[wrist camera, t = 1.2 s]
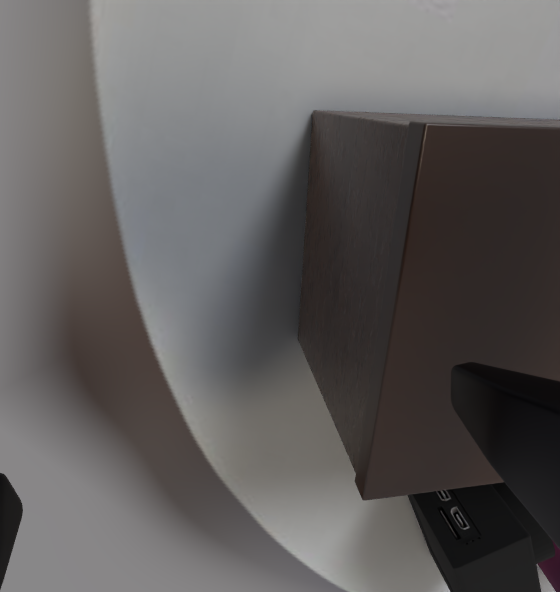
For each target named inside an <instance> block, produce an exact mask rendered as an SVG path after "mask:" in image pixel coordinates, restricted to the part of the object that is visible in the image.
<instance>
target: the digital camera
mask: <svg viewBox="0 0 560 592" xmlns="http://www.w3.org/2000/svg"><path fill="white" fill-rule="evenodd" d="M408 496H409V499H410V501H411V504H412V507H413V509H414V512H415V514H416V517H417V519H418V522H419V525H420V527H421V530H422V532H423V535H424V537H425V540H426V543H427V545H428V548H429V550H430V553H431V555H432V557H433V559H434V561H435V563H436V565H437V567H438V569H439V570H440V572H441V574H442V576H443V578H444V580H445V582H446V584H447V586H448V588H449V590H450V592H541V588H540V583H539V578H538V572H537V567H536V564H537V563H540V562H542V561H545V560H547V559H549V558H552V557H554V556H555V548H554V545H553V542H552V539H551V538H550V537H549V536H548V534H547V533H546V532H545V531H544V530H543V528H542V527H541V526H540V525H539V524H538V522H537V521H536V520H535V519H534V517H533V516H532V515H531V514H530V513H529V511H528V510H527V509H526V508H525V507H524V505H523V504H522V503H521V502H520V500H519V499H518V498H517V497H516V496H515V494H514V493H513V492H512V491H511V490H510V488H509V487H508V486H507V485H506V483H505V482H502V483H494V484H486V485H479V486H471V487H463V488H456V489H448V490H441V491H433V492H425V493H418V494H410V495H408Z"/></svg>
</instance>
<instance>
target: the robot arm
mask: <svg viewBox="0 0 560 592" xmlns="http://www.w3.org/2000/svg"><path fill="white" fill-rule="evenodd" d="M451 402H452V405H453V408H454V410H455V412H456V413H457V415H458V416H459V418H460V419H461V421H462V422H463V424H464V425H465V427H466V428H467V430H468V432H469V433H470V435H471V436H472V438H473V439H474V441H475V442H476V444H477V445H478V447H479V448H480V450H481V452H482V453H483V455H484V456H485V458H486V459H487V460H488V462H489V463H490V465H491V466H492V467H493V469H494V470H495V471H496V472H497V474H498V475H499V476H500V477H501V479H502V480H503V481H504V482H505V483H506V485H507V486H508V487H509V488H510V490H511V491H512V492H513V493H514V494H515V496H516V497H517V498H518V499H519V500H520V502H521V503H522V504H523V505H524V507H525V508H526V509H527V510H528V511H529V513H530V514H531V515H532V516H533V517H534V519H535V520H536V521H537V522H538V524H539V525H540V526H541V527H542V528H543V530H544V531H545V532H546V533H547V534H548V536H549V537H550V538H551V539H552V540H553V542H554V543H555V544H556V545H557V547H558V548H559V549H560V381H556V380H552V379H547V378H543V377H538V376H534V375H529V374H525V373H520V372H516V371H511V370H506V369H502V368H497V367H493V366H488V365H484V364H479V363H475V362H468V363H463V364H459V365H455V366H454V367H453V368H452V371H451ZM22 512H23V509H22V503H21V500H20V498H19V497H18V495H17V493H16V492H15V490H14V488H13V487H12V485H11V483H10V482H9V480H8V479H7V477H6V476H5V475H4V474H2V473H0V589H1V586H2V583H3V579H4V576H5V573H6V570H7V566H8V563H9V559H10V556H11V552H12V549H13V545H14V542H15V539H16V535H17V532H18V528H19V525H20V521H21V518H22Z"/></svg>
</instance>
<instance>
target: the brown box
mask: <svg viewBox="0 0 560 592" xmlns="http://www.w3.org/2000/svg"><path fill="white" fill-rule="evenodd" d="M298 340H299V343H300V345H301V347H302V350H303V352H304V354H305V357H306V359H307V361H308V364H309V366H310V368H311V371H312V373H313V375H314V377H315V380H316V382H317V384H318V387H319V389H320V391H321V394H322V396H323V398H324V401H325V403H326V405H327V408H328V410H329V412H330V415H331V417H332V419H333V421H334V424H335V426H336V428H337V431H338V433H339V435H340V438H341V440H342V442H343V445H344V447H345V449H346V452H347V454H348V456H349V459H350V461H351V463H352V465H353V468H354V470H355V472H356V477H355V483H356V485H357V488H358V490H359V493H360V495H361V497H362V500H372V499H380V498H387V497H395V496H402V495H410V494H418V493H425V492H433V491H441V490H448V489H456V488H463V487H471V486H479V485H486V484H494V483H502V482H504V481H503V480H502V479H501V477H500V476H499V475H498V474H497V472H496V471H495V470H494V469H493V467H492V466H491V465H490V463H489V462H488V460H487V459H486V458H485V456H484V455H483V453H482V452H481V450H480V448H479V447H478V445H477V444H476V442H475V441H474V439H473V438H472V436H471V435H470V433H469V432H468V430H467V428H466V427H465V425H464V424H463V422H462V421H461V419H460V418H459V416H458V415H457V413H456V412H455V410H454V408H453V405H452V402H451V371H452V368H453V367H454V366H455V365H459V364H463V363H468V362H475V363H479V364H484V365H488V366H493V367H497V368H502V369H506V370H511V371H516V372H520V373H525V374H529V375H534V376H538V377H543V378H547V379H552V380H556V381H560V120H552V119H526V118H500V117H474V116H448V115H422V114H396V113H370V112H344V111H318V110H315V111H313V117H312V132H311V147H310V162H309V178H308V193H307V208H306V223H305V239H304V254H303V269H302V284H301V300H300V315H299V330H298Z"/></svg>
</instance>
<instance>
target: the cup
mask: <svg viewBox="0 0 560 592" xmlns="http://www.w3.org/2000/svg"><path fill="white" fill-rule="evenodd" d="M552 542H553V540H552ZM553 545H554V548H555V556H554V557H552V558H549V559H547V560H545V561H542V562H540V563H537V564H538V565H539V567H540V568H541V570H542V571H543V573H544V574H545V576H546V577H547V579H548V580H549V582H550V583H551V585H552V586H553V588H554V589H555V591H556V592H560V549H559V548H558V547H557V545H556V544H555V543H554V542H553Z"/></svg>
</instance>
